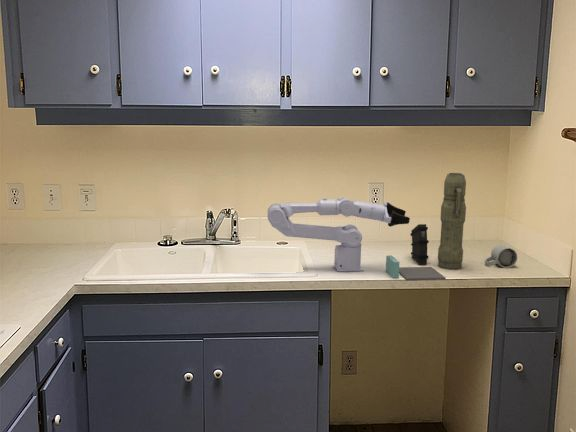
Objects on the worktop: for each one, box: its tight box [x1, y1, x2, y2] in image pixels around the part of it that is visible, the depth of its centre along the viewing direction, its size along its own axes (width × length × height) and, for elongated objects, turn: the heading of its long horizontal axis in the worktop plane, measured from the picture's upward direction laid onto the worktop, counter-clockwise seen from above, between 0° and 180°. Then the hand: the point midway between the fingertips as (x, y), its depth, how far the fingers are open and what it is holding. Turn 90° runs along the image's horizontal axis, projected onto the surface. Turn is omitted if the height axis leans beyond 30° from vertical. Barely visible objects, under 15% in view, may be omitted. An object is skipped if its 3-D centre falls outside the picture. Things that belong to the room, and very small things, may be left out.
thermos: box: [437, 172, 467, 271], centre depth 214 cm, size 9×12×35 cm
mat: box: [399, 266, 447, 281], centre depth 206 cm, size 14×14×1 cm
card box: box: [385, 254, 400, 280], centre depth 205 cm, size 9×2×6 cm, turn 7°
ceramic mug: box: [484, 245, 518, 269], centre depth 219 cm, size 11×8×8 cm
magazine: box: [410, 223, 429, 266], centre depth 223 cm, size 4×13×15 cm, turn 3°
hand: (407, 217), depth 210 cm, fingers open, 7 cm apart
